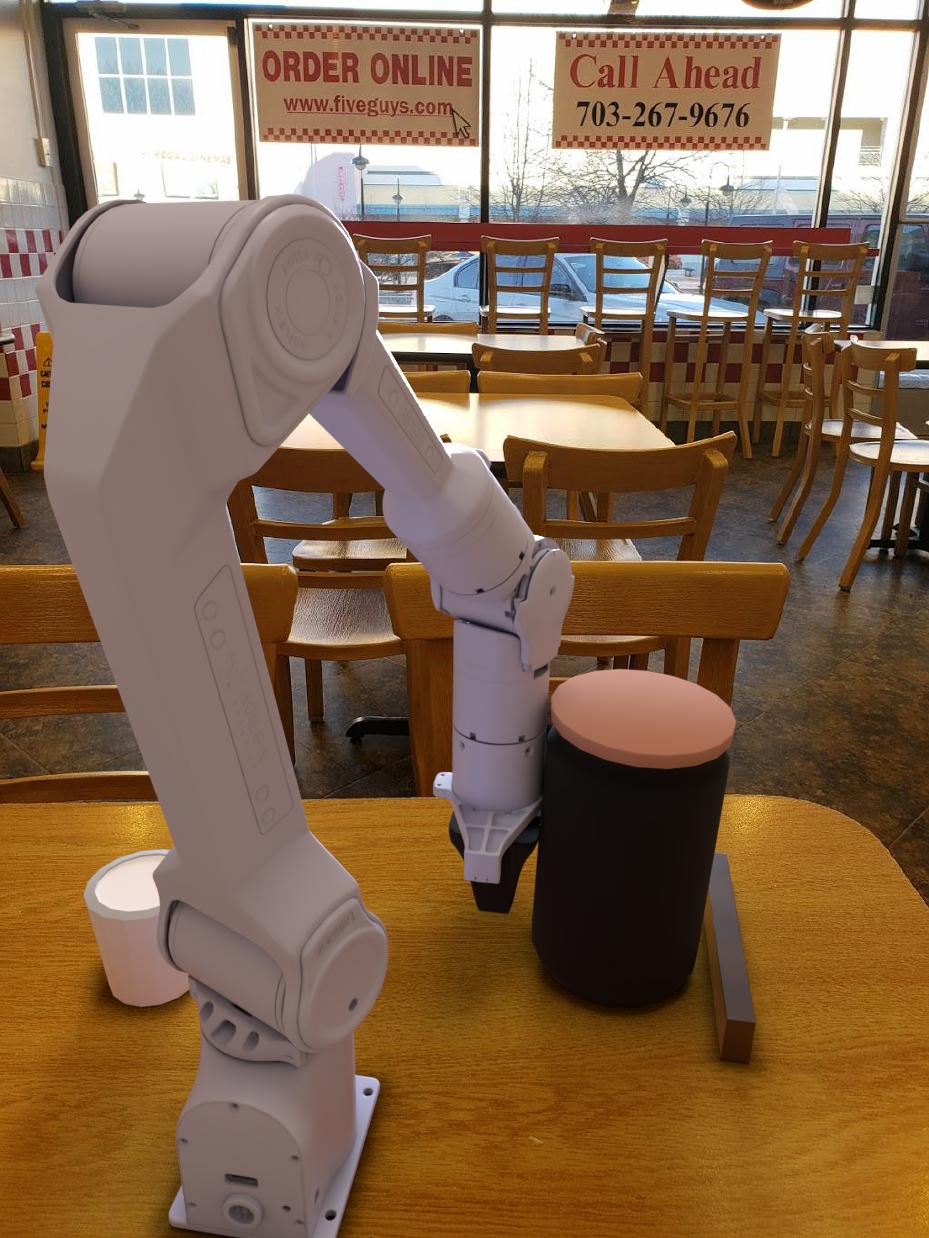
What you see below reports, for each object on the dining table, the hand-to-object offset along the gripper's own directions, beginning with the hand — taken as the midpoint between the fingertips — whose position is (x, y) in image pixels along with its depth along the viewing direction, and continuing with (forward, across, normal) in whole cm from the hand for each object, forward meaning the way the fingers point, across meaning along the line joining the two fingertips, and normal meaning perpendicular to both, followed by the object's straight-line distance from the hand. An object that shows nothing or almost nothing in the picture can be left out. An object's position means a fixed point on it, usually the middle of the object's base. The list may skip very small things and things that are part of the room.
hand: (494, 906), depth 62 cm
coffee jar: (+2, 0, +8) cm, 8 cm away
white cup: (+3, +7, -20) cm, 22 cm away
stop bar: (+2, 0, +15) cm, 15 cm away
